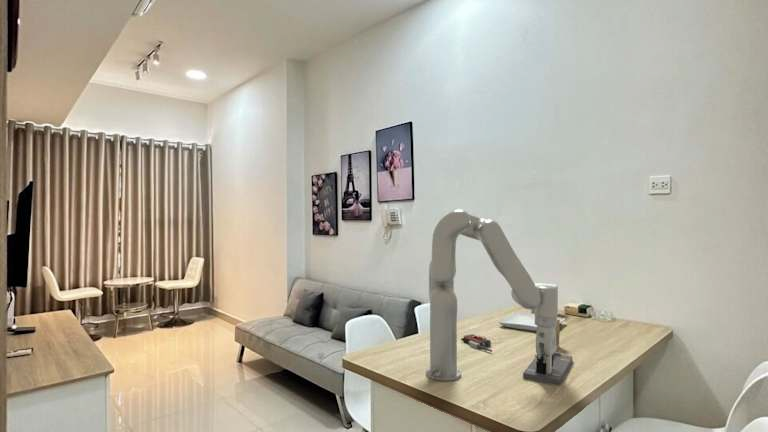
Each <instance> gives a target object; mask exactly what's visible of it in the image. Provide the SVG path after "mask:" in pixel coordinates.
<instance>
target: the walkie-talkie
mask: <svg viewBox="0 0 768 432" xmlns="http://www.w3.org/2000/svg"><path fill="white" fill-rule="evenodd" d="M460 340H461V341H463V343H465V344H468V345H469V347H471V348H473V349H476V350H478V349H479V350H480V349H481V350H484V351H485V352H486V351H487V352H490V353H493V350H492V349H490V347H491V346H492V342H491V340H490V339H487V338H486V336H484V335H481V334H475V333H473V334H466V335H464V336H463V337H462V338H461V339H460Z"/></svg>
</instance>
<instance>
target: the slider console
mask: <svg viewBox="0 0 768 432" xmlns="http://www.w3.org/2000/svg"><path fill="white" fill-rule="evenodd" d="M542 353H543V352H542ZM552 356H553V367H552V372H551V374H548V373H547V372H546V374H545V375H544V374H540V373H537V372H535V358H534V359H532V361H531V363H530V364H529V365H528V366H527V367H526V368H525V370H524V371H523V373H522V379H524V380H528V381H529V380H530V381H533V382H538V383H544V384H549V385H552V386H559V387H560V386H561V385H562V382H563V381H564V379H565V377H566V375H567V373H568V371H569V369H570V367H571V365H572V364H573V356H572V355H565V354H562V352H558V351H555V352H554V353H553V355H552Z"/></svg>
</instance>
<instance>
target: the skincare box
mask: <svg viewBox="0 0 768 432" xmlns="http://www.w3.org/2000/svg"><path fill="white" fill-rule="evenodd" d="M560 325H561V324H560V319H557V327H556V349H558V348H559V347H560Z"/></svg>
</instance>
